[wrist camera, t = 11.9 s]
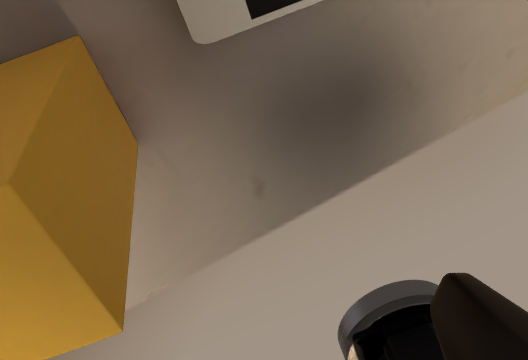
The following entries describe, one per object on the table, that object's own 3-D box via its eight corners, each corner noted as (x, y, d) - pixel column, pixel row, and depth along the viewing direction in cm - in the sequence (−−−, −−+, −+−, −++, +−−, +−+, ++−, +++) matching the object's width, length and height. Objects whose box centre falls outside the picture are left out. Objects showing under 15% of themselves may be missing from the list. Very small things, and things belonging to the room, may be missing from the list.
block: (138, 144, 18) (123, 333, 11) (30, 184, 19) (-58, 397, 11) (79, 34, 16) (7, 183, 8) (-47, 81, 16) (-226, 268, 9)
